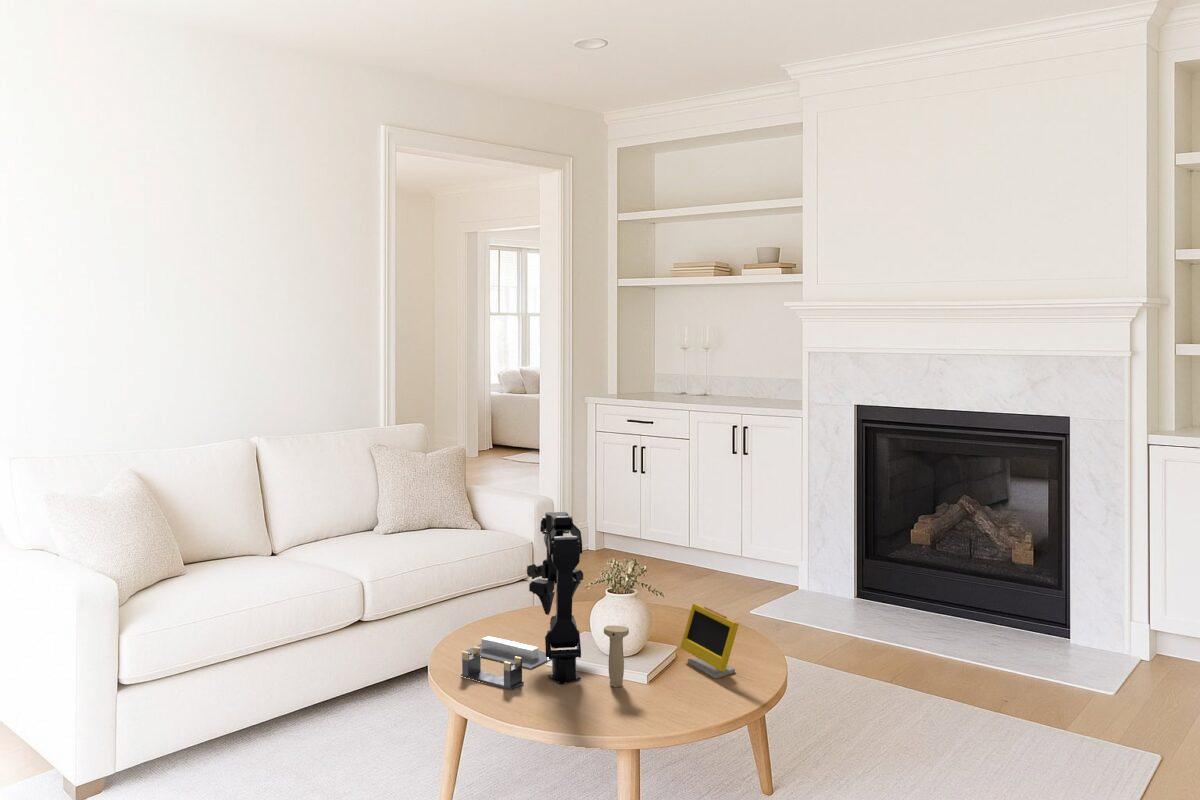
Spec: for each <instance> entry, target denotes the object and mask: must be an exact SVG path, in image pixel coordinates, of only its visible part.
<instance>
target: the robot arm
mask: <svg viewBox="0 0 1200 800" xmlns="http://www.w3.org/2000/svg"><path fill="white" fill-rule="evenodd" d="M539 529H540V533H542V535H544V536H543V541H544V545H545V547H546V559H543V560H542V564H539V565H536V564H535V563H533V564H530V565H527V566H526V575H527V577H528V578H531V580H532V581H531V582H529V583H528V584H529V585H528V586H529V587H528V589H529V590H528V591H529V592H531V593H532V594H534V595H536V596H537V597H538V598H539V600H540V603H541V606H542V608H543V612H544V614H545V615H546V616H549V615H550V613H551V610H552V607H553V601H554V598H556V599H555V615H552V616H551V617H550V622H549V630H547V633H546V635H545V636H544V642H545V643H544V645H545V653H546V657H549V659H551V665H552V667H551V674H548V675H547V678H548V679H550V680H551V681H552V680H553V681H554V682H556V683H558V684H559V685H564V684H567V683H572V682H574V681H579V680H581V678H582V677H581V676H580V675H577V658H582V647H581V645H582V644H581V638H580V637H581V635H580V629H578V626H577V621H576V619H575V617H574V615H573V598H574V595H575V593H576V591H577V589H578V587H579V585H580V584H581V582H582V581H583V580H584V572H583V571H582V569H580V568H579V569H578V568H577V566H578V565H579V564H580V559H581V558H580V557H581V555H582V554H583V540H582V532H581V530H580V529H579V527H578V526H576V525H575V524H574V521H573V516H570V515H569V513H568V512H567V511H560V512H559V511H558V512H557V511H554V512H550V511H549V512H545V514H544V516H542V519H541V520H540V528H539ZM564 534H571V535H564ZM540 577H541V578H540ZM536 578H537V579H536ZM555 586H556V589H555ZM554 590H556V592H554ZM555 593H556V595H555ZM554 596H556V597H554ZM570 648H571V649H570Z"/></svg>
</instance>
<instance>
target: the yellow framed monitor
mask: <svg viewBox="0 0 1200 800" xmlns="http://www.w3.org/2000/svg"><path fill="white" fill-rule="evenodd" d="M738 629H739V623H737V622H735V621H733V620H732V619H729V618H728V616H726V615H724V614H722V613H720V612H717V611H715V610H714V609H712V608H709V607H707V606H701V605H700V604H697V603H695V602H694V603H692V606H691V609H690V612H689V616H688V619H687V623H686V625H685V628H684V633H683V637H682V639H681V643H680V649H682V650H683V651H685V652H687V653H688V654H691V656H694V658H688V659H687V663H688V664H689V665H690V666H693V667H695V668H696V669H698V670H699V671H701V672H703V673H705V674H707V675H708V676H709V677H711V678H713V679H715V680H717V679H720V678H723V677H726V676H728V675H732V674H734V673H736V668H734V667H733V666H731V665H729V664H728V663H729V659H730V656H731V652H732V650H733V646H734V643H735V639H736V635H737V631H738Z"/></svg>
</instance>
